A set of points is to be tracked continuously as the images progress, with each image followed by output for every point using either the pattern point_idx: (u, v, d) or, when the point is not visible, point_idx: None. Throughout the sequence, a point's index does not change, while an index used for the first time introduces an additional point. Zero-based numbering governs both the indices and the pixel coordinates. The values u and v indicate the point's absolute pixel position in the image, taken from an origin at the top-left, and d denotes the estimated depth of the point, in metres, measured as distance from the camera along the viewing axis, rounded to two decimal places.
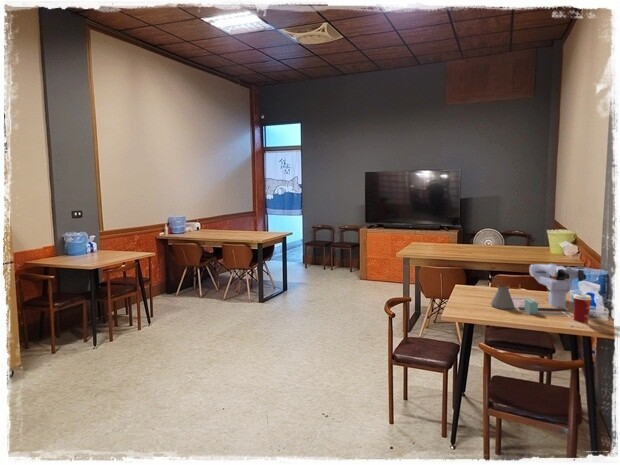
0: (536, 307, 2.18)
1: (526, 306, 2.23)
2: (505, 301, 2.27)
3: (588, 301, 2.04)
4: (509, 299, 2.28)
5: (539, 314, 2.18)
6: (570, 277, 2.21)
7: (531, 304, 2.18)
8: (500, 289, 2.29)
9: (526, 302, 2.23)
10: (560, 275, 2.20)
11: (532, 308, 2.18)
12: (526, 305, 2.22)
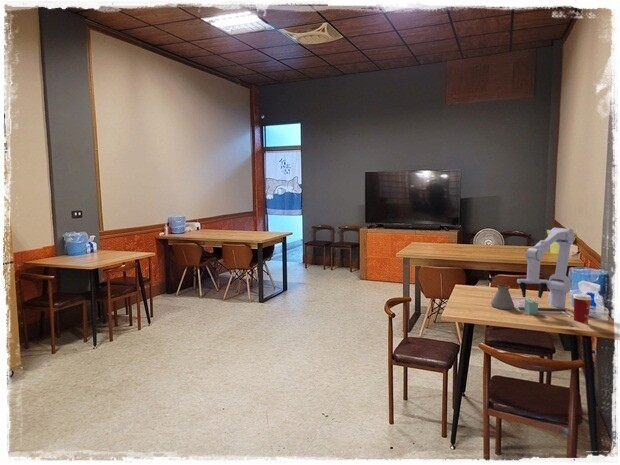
0: (536, 307, 2.18)
1: (526, 306, 2.23)
2: (505, 301, 2.27)
3: (588, 301, 2.04)
4: (509, 299, 2.28)
5: (539, 314, 2.18)
6: None
7: (531, 304, 2.18)
8: (500, 289, 2.29)
9: (526, 302, 2.23)
10: None
11: (532, 308, 2.18)
12: (526, 305, 2.22)
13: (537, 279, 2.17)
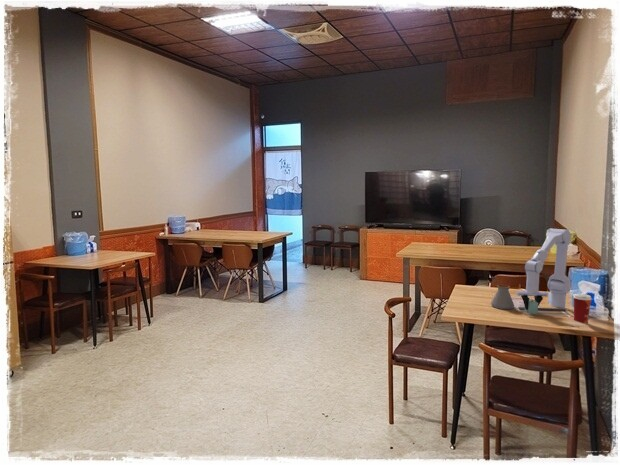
0: (536, 307, 2.18)
1: None
2: (505, 301, 2.27)
3: (588, 301, 2.04)
4: (509, 299, 2.28)
5: (539, 314, 2.18)
6: None
7: (531, 304, 2.18)
8: (500, 289, 2.29)
9: None
10: None
11: (532, 308, 2.18)
12: None
13: (536, 292, 2.18)
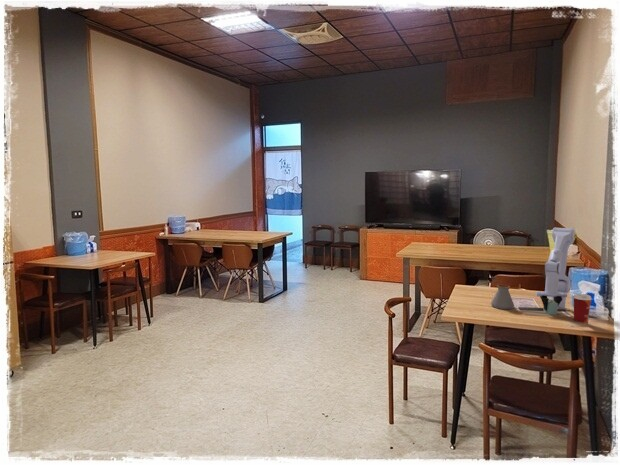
0: (556, 308, 2.17)
1: None
2: (505, 301, 2.27)
3: (588, 301, 2.04)
4: (509, 299, 2.28)
5: (539, 314, 2.18)
6: None
7: (550, 305, 2.17)
8: (500, 289, 2.29)
9: None
10: None
11: (551, 309, 2.17)
12: None
13: (556, 292, 2.17)
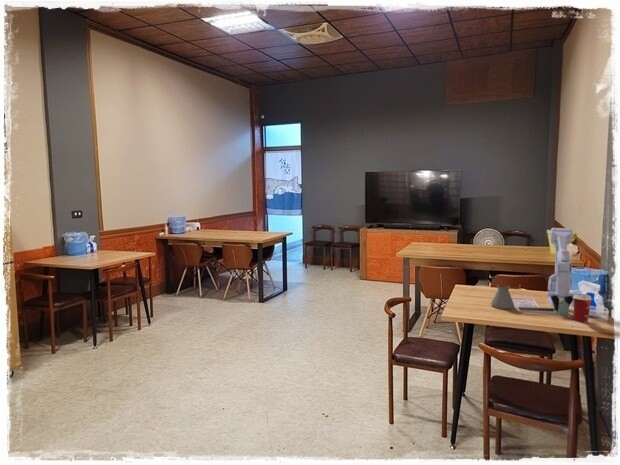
0: (566, 308, 2.16)
1: None
2: (505, 301, 2.27)
3: (588, 301, 2.04)
4: (509, 299, 2.28)
5: (539, 314, 2.18)
6: None
7: (561, 305, 2.16)
8: (500, 289, 2.29)
9: None
10: None
11: (562, 309, 2.16)
12: None
13: (567, 292, 2.16)
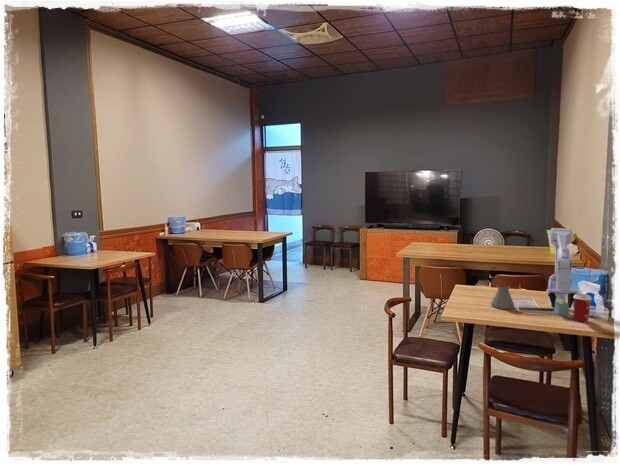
0: (566, 308, 2.16)
1: (556, 307, 2.21)
2: (505, 301, 2.27)
3: (588, 301, 2.04)
4: (509, 299, 2.28)
5: (539, 314, 2.18)
6: None
7: (561, 305, 2.16)
8: (500, 289, 2.29)
9: (556, 303, 2.21)
10: None
11: (562, 309, 2.16)
12: (556, 306, 2.20)
13: (567, 289, 2.16)
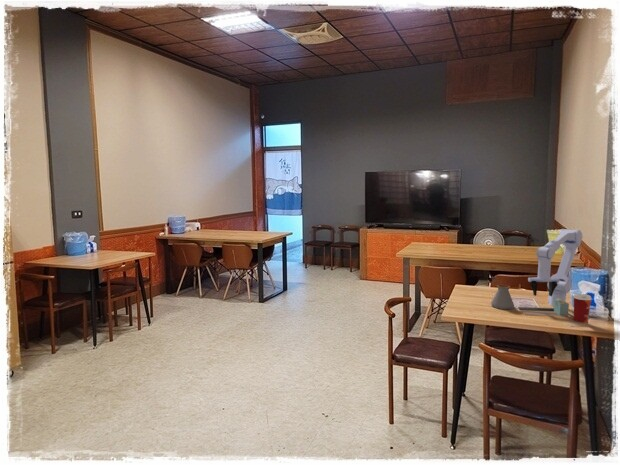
0: (566, 308, 2.16)
1: (556, 307, 2.21)
2: (505, 301, 2.27)
3: (588, 301, 2.04)
4: (509, 299, 2.28)
5: (539, 314, 2.18)
6: None
7: (561, 305, 2.16)
8: (500, 289, 2.29)
9: (556, 303, 2.21)
10: None
11: (562, 309, 2.16)
12: (556, 306, 2.20)
13: (548, 277, 2.21)
